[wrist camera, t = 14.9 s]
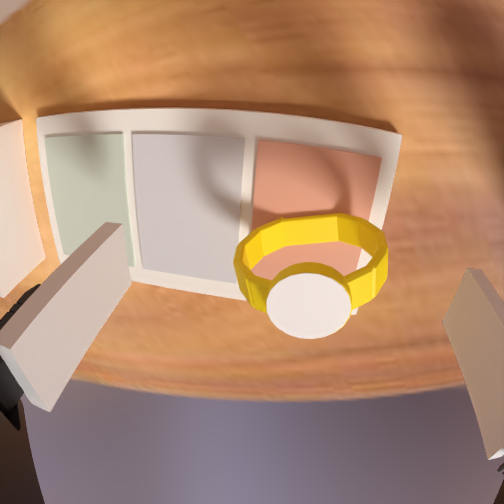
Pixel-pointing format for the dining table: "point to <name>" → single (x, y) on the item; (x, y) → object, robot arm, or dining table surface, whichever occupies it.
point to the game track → (210, 186)
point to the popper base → (16, 211)
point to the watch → (311, 273)
